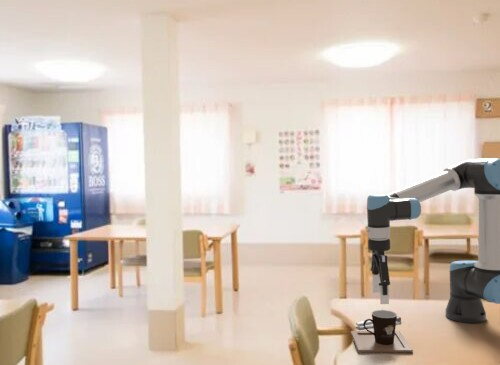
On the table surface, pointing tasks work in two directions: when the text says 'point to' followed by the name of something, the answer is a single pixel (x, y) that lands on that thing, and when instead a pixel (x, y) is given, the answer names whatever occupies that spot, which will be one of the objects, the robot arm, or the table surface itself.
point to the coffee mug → (383, 326)
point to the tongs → (370, 325)
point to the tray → (368, 345)
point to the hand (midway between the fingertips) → (380, 297)
